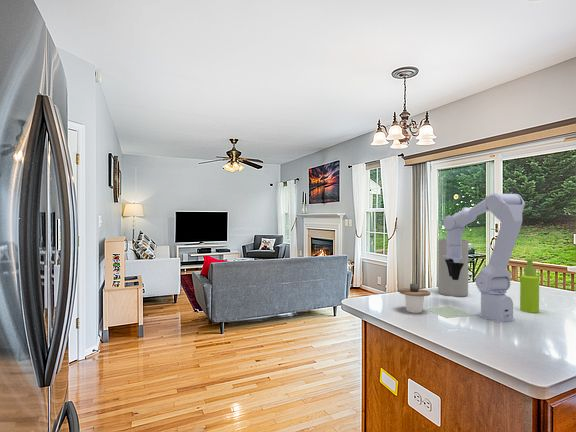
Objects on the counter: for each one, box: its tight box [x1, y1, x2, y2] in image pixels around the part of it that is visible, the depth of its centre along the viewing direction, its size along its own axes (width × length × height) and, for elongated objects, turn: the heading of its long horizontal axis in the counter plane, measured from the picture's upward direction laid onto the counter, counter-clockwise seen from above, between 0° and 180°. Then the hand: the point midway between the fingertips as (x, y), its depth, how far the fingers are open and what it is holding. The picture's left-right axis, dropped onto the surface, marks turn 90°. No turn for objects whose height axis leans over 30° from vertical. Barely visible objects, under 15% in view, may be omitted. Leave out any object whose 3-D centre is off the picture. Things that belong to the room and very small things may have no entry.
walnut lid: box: [398, 283, 431, 297], centre depth 127 cm, size 11×11×3 cm
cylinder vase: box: [437, 238, 469, 298], centre depth 157 cm, size 12×12×25 cm
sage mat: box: [424, 306, 474, 319], centre depth 126 cm, size 12×12×1 cm
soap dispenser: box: [519, 257, 543, 314], centre depth 129 cm, size 6×7×20 cm
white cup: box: [404, 295, 425, 314], centre depth 127 cm, size 7×7×7 cm
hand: (453, 278), depth 139 cm, fingers open, 7 cm apart
